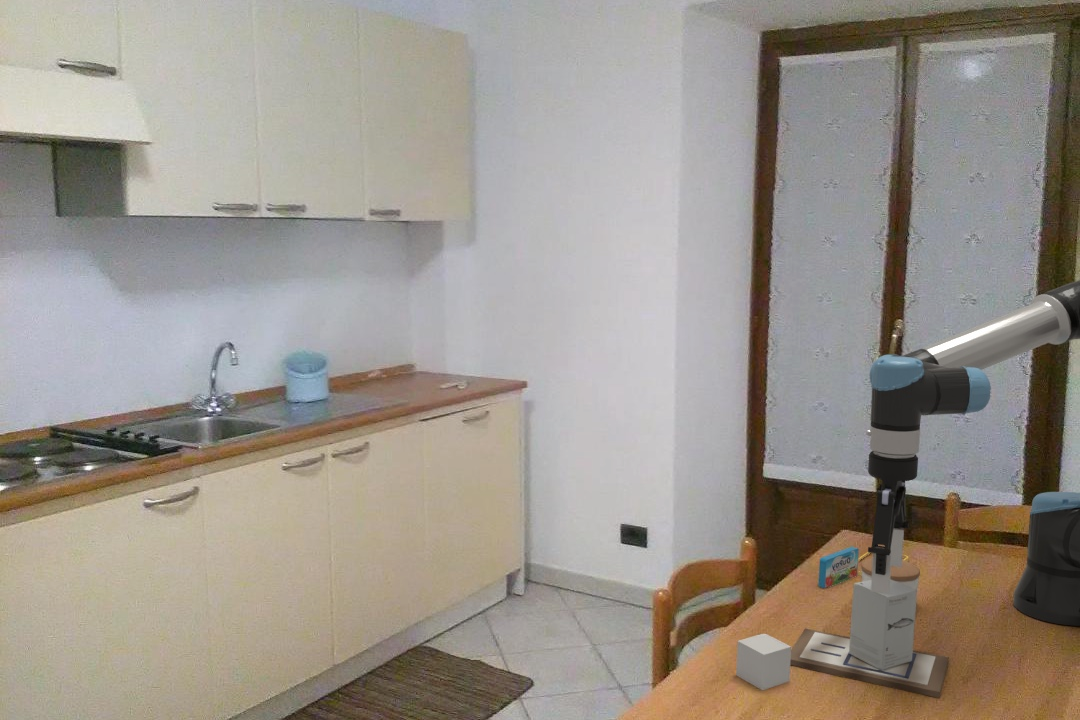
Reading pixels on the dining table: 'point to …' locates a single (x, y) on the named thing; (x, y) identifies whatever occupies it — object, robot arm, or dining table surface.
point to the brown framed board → (835, 659)
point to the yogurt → (838, 567)
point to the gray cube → (763, 661)
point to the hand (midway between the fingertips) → (887, 578)
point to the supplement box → (883, 624)
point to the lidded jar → (894, 573)
